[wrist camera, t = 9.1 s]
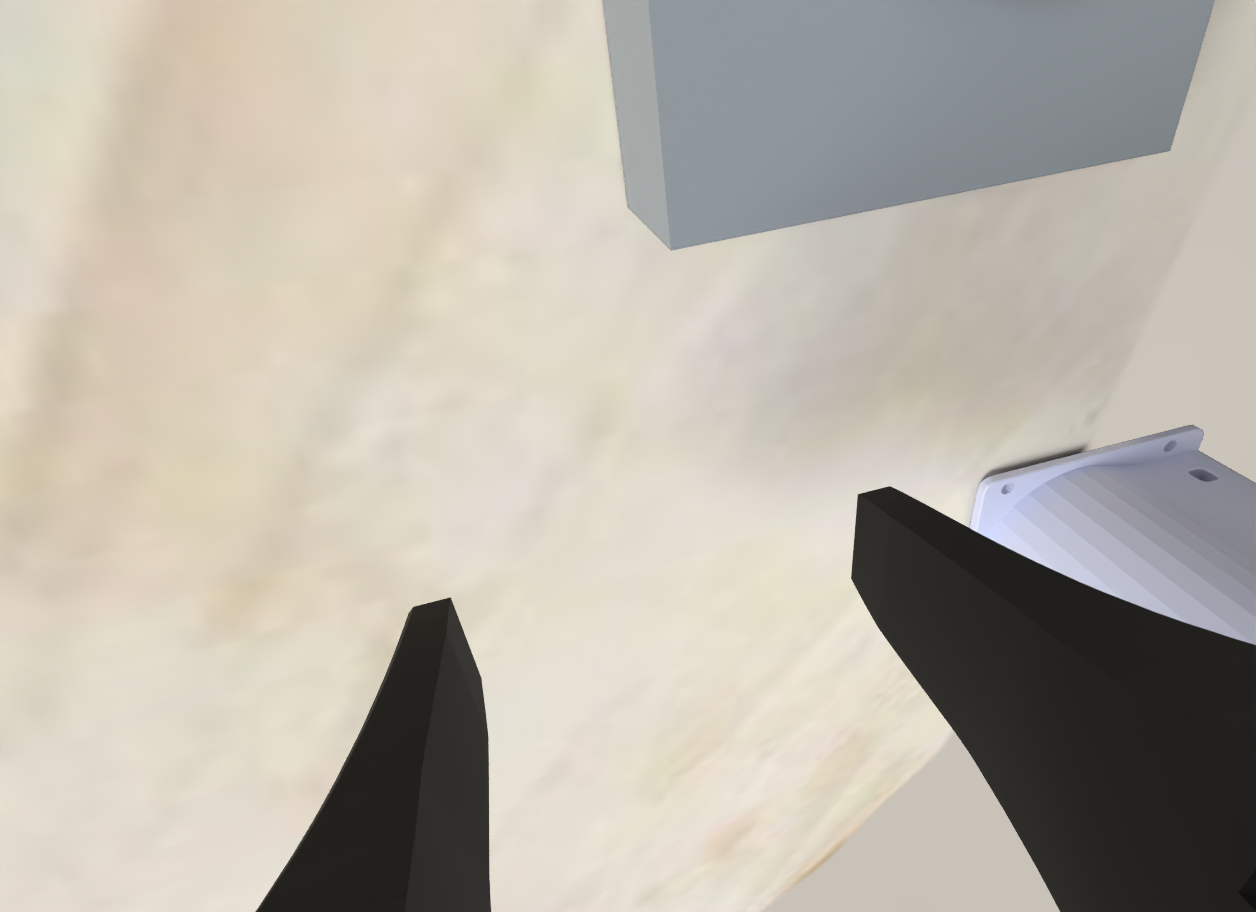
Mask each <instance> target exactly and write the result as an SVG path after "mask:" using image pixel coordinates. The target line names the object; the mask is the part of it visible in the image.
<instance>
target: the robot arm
mask: <svg viewBox="0 0 1256 912" xmlns="http://www.w3.org/2000/svg"><path fill="white" fill-rule="evenodd" d="M1203 435H1204V433H1203V430H1201V429H1200V428H1198V427H1196V426H1194V425H1188V426H1184V427H1180V428H1177V429H1173V430H1169V431H1165V432H1161V433H1157V434H1153V435H1149V436H1145V437H1141V438H1138V439H1133V440H1130V441H1126V442H1122V443H1118V444H1114V445H1110V446H1106V447H1102V448H1098V449H1094V450H1090V451H1086V452H1083V453H1079V454H1075V455H1071V456H1067V457H1063V458H1059V459H1055V460H1051V461H1047V462H1044V463H1040V464H1036V465H1032V466H1028V467H1024V468H1020V469H1016V470H1012V471H1008V472H1004V473H1001V474H997V475H993V476H990V477H987V478H986V479H984V480H983V481H982V482H981V483H980V485H979V487H978V490H977V495H976V500H975V505H974V510H973V515H972V520H971V525H970V528H968V527H966V526H964V525H963V524H961V523H959V522H957V521H955V520H953V519H951V518H950V517H948V516H946V515H944V514H942V513H940V512H938V511H937V510H935V509H933V508H931V507H929V506H927V505H925V504H923V503H922V502H920V501H918V500H916V499H914V498H912V497H910V496H908V495H906V494H904V493H903V492H901V491H899V490H897V489H894V488H892V487H890V486H889V487H885V488H881V489H877V490H873V491H869V492H865V493H861V494H858V501H857V513H856V526H855V538H854V550H853V563H852V575H851V579H852V581H853V583H854V585H855V587H856V588H857V590H858V592H859V594H860V596H861V598H862V600H863V602H864V603H865V605H866V607H867V609H868V610H869V612H870V614H871V616H872V617H873V619H874V621H875V623H876V624H877V626H878V628H879V629H880V631H881V632H882V633H883V635H884V636H885V638H886V639H887V640H888V642H889V643H890V645H891V646H892V647H893V649H894V650H895V651H896V653H897V654H898V656H899V657H900V658H901V660H902V661H903V662H904V664H905V665H906V667H907V668H908V669H909V671H910V672H911V673H912V675H913V676H914V677H915V679H916V680H917V681H918V683H919V684H920V685H921V687H922V688H923V689H924V691H925V692H926V693H927V695H928V696H929V698H930V699H931V700H932V702H933V703H934V704H935V706H936V707H937V708H938V710H939V711H940V712H941V714H942V715H943V716H944V718H945V719H946V720H947V722H948V723H949V724H950V726H951V727H952V729H953V730H954V731H955V733H956V734H957V736H958V737H959V738H960V740H961V741H962V743H963V744H964V746H965V747H966V748H967V750H968V751H969V753H970V754H971V756H972V758H973V759H974V761H975V762H976V764H977V766H978V767H979V769H980V771H981V772H982V774H983V776H984V778H985V779H986V781H987V783H988V784H989V786H990V787H991V789H992V791H993V792H994V794H995V796H996V797H997V799H998V801H999V802H1000V804H1001V806H1002V807H1003V809H1004V811H1005V813H1006V814H1007V816H1008V818H1009V819H1010V821H1011V823H1012V825H1013V827H1014V828H1015V830H1016V832H1017V834H1018V835H1019V837H1020V839H1021V840H1022V842H1023V844H1024V846H1025V848H1026V849H1027V851H1028V853H1029V855H1030V856H1031V858H1032V860H1033V862H1034V864H1035V865H1036V867H1037V869H1038V871H1039V872H1040V874H1041V876H1042V878H1043V880H1044V882H1045V883H1046V886H1047V887H1048V889H1049V891H1050V893H1051V895H1052V897H1053V899H1054V901H1055V903H1056V904H1057V906H1058V908H1059V910H1060V912H1256V483H1255V482H1253V481H1251V480H1249V479H1248V478H1246V477H1244V476H1242V475H1241V474H1239V473H1237V472H1235V471H1234V470H1232V469H1230V468H1228V467H1227V466H1225V465H1223V464H1221V463H1220V462H1218V461H1216V460H1214V459H1213V458H1211V457H1209V456H1207V455H1205V454H1204V453H1202V452H1200V451H1198V448H1199V446H1200V443H1201V441H1202V439H1203ZM256 912H491V904H490V881H489V757H488V730H487V721H486V712H485V704H484V696H483V689H482V681H481V676H480V674H479V671H478V668H477V666H476V663H475V660H474V658H473V655H472V653H471V650H470V647H469V645H468V642H467V639H466V637H465V634H464V631H463V629H462V626H461V624H460V621H459V618H458V616H457V613H456V610H455V608H454V605H453V603H452V600H451V598H447V599H443V600H439V601H435V602H431V603H427V604H423V605H419V606H415V607H413V608H412V610H411V611H410V612H409V614H408V617H407V620H406V622H405V625H404V628H403V631H402V634H401V636H400V639H399V642H398V645H397V647H396V650H395V652H394V655H393V657H392V660H391V662H390V665H389V667H388V670H387V672H386V675H385V677H384V680H383V682H382V684H381V687H380V689H379V691H378V693H377V696H376V698H375V700H374V702H373V705H372V707H371V709H370V711H369V714H368V716H367V718H366V720H365V723H364V725H363V727H362V729H361V731H360V733H359V735H358V737H357V739H356V741H355V743H354V745H353V747H352V749H351V751H350V753H349V755H348V757H347V759H346V761H345V763H344V765H343V767H342V769H341V771H340V773H339V775H338V777H337V779H336V781H335V783H334V785H333V786H332V788H331V790H330V792H329V794H328V795H327V797H326V799H325V801H324V803H323V805H322V806H321V808H320V810H319V812H318V813H317V815H316V817H315V819H314V820H313V822H312V824H311V825H310V827H309V829H308V830H307V832H306V834H305V835H304V837H303V839H302V840H301V842H300V844H299V845H298V847H297V849H296V850H295V852H294V854H293V855H292V857H291V858H290V860H289V862H288V863H287V865H286V866H285V868H284V869H283V871H282V872H281V874H280V875H279V877H278V878H277V880H276V881H275V883H274V885H273V886H272V888H271V889H270V891H269V892H268V894H267V895H266V897H265V898H264V900H263V901H262V903H261V904H260V906H259V908H258V909H257V910H256Z"/></svg>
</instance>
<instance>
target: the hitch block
mask: <svg viewBox="0 0 1256 912" xmlns="http://www.w3.org/2000/svg"><path fill="white" fill-rule="evenodd" d="M1214 1H1215V0H603V8H604V16H605V24H606V33H607V41H608V49H609V58H610V66H611V74H612V82H613V91H614V99H615V107H616V115H617V124H618V132H619V140H620V148H621V157H622V165H623V173H624V181H625V190H626V198H627V206H628V208H629V209H630V210H631V211H632V212H633V213H634V214H635V215H636V216H637V217H638V218H639V219H640V220H641V221H642V222H643V223H644V224H645V225H646V226H647V227H648V228H649V229H650V230H651V231H652V232H653V233H654V234H655V235H656V236H657V237H658V238H659V239H660V240H661V241H662V242H663V243H664V244H665V245H666V246H667V247H668V248H669V249H670V250H676V249H681V248H686V247H691V246H696V245H701V244H706V243H711V242H716V241H721V240H726V239H731V238H736V237H741V236H746V235H751V234H756V233H761V232H766V231H771V230H776V229H781V228H786V227H791V226H796V225H801V224H806V223H811V222H816V221H821V220H826V219H831V218H836V217H841V216H846V215H851V214H856V213H861V212H866V211H871V210H876V209H881V208H886V207H891V206H896V205H901V204H906V203H911V202H916V201H921V200H926V199H931V198H936V197H941V196H946V195H951V194H956V193H961V192H966V191H971V190H976V189H981V188H986V187H991V186H996V185H1001V184H1006V183H1011V182H1016V181H1021V180H1026V179H1031V178H1036V177H1041V176H1046V175H1051V174H1056V173H1061V172H1066V171H1071V170H1076V169H1081V168H1086V167H1091V166H1096V165H1101V164H1107V163H1112V162H1117V161H1122V160H1127V159H1132V158H1137V157H1142V156H1147V155H1152V154H1157V153H1162V152H1167V151H1170V149H1171V146H1172V142H1173V139H1174V136H1175V132H1176V129H1177V126H1178V122H1179V119H1180V115H1181V112H1182V109H1183V105H1184V102H1185V99H1186V95H1187V92H1188V89H1189V85H1190V82H1191V78H1192V75H1193V72H1194V68H1195V65H1196V62H1197V58H1198V55H1199V52H1200V48H1201V45H1202V41H1203V38H1204V35H1205V31H1206V28H1207V25H1208V21H1209V18H1210V14H1211V11H1212V8H1213V4H1214Z"/></svg>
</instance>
